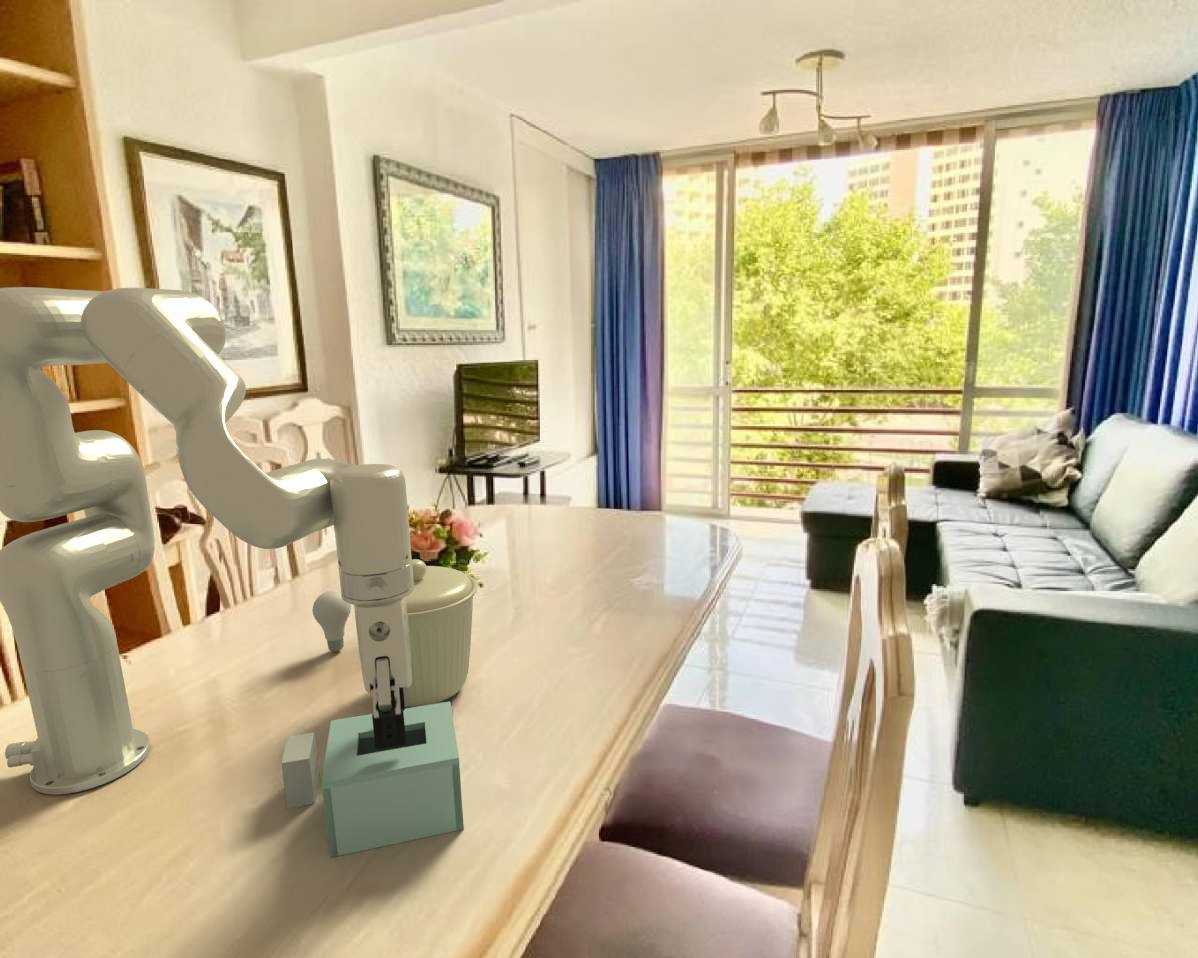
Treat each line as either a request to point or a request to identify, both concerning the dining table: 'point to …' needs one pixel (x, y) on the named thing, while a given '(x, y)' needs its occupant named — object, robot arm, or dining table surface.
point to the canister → (438, 632)
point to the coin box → (391, 782)
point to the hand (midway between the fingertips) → (390, 727)
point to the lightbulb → (332, 617)
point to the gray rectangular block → (300, 770)
